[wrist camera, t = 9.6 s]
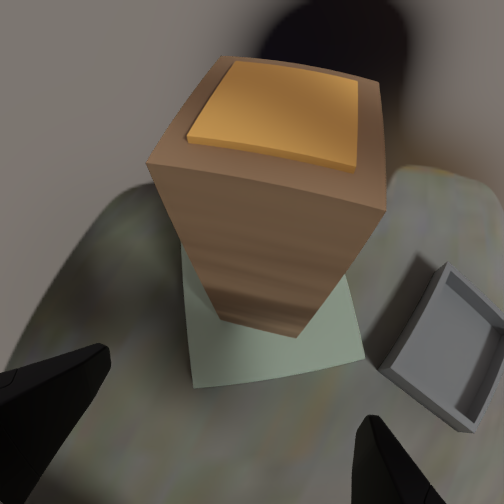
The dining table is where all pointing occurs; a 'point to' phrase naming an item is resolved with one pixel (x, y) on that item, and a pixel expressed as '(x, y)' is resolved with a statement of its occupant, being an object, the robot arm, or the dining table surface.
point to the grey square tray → (450, 351)
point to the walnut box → (273, 185)
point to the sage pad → (265, 339)
